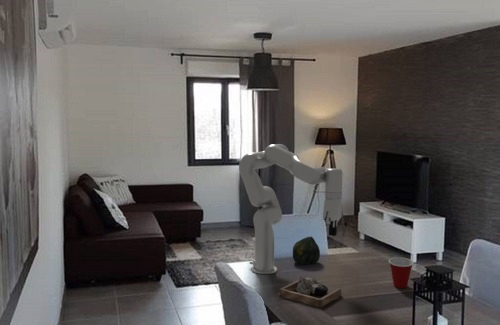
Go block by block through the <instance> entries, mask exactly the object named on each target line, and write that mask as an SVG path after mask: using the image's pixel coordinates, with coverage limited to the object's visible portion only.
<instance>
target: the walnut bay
mask: <svg viewBox="0 0 500 325" xmlns="http://www.w3.org/2000/svg"><path fill="white" fill-rule="evenodd" d="M298 283H299V279H297V280H295V281H294V282H291V283H289V284H287V285H284V286H283V287H281V288H279V289H278V296H279V297H282V298H285V299H289V300H293V301H296V302H300V303H303V304H306V305H310V306H313V307H318V308H322V307H324V306H326V305H328V304H329V303H331V302H333V301H335V300H336V299H338V298H339V297H341V296H342V288H340V287H339V288H336V289H335V290H332V291H331V292H329V293H327V294H326V295H323V297H321V298H319V297H318V298H317V297H315V296H311V295H309V296H308V295H304V294H302V293H300V292H295V291H297V286H298Z"/></svg>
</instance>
